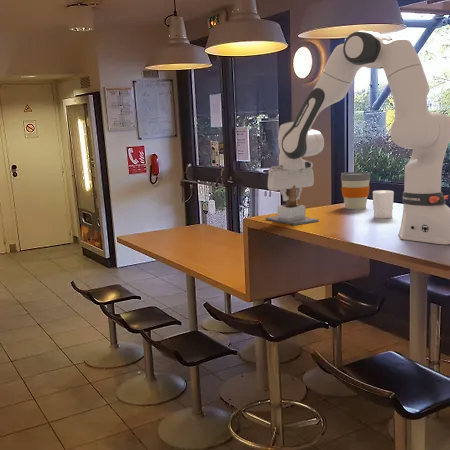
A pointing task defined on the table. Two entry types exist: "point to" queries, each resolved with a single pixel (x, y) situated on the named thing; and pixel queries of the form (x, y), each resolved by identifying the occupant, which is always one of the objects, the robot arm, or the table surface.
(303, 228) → the table surface
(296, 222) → the cup bracket
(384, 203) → the white cup
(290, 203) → the walnut rail post
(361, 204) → the reusable coffee cup
